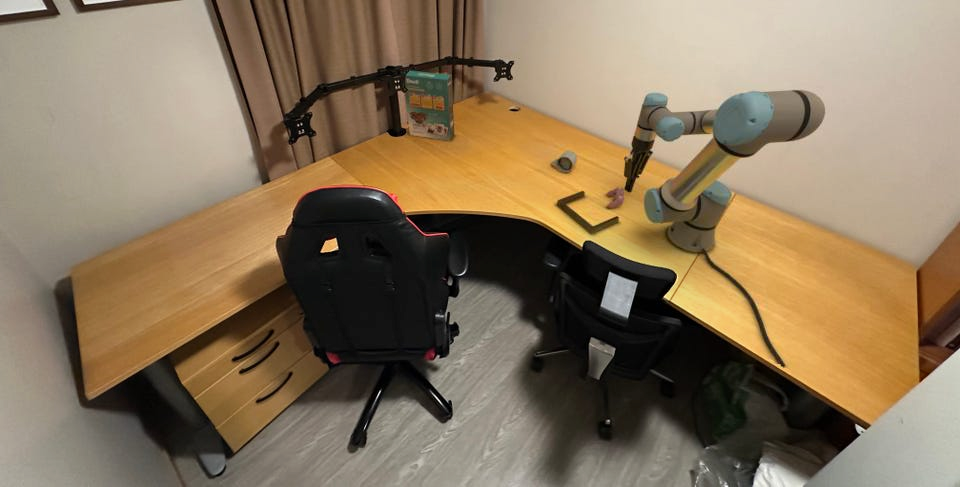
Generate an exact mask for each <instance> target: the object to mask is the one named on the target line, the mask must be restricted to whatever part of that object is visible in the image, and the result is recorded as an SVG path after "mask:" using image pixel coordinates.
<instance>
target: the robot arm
mask: <svg viewBox="0 0 960 487" xmlns="http://www.w3.org/2000/svg"><path fill="white" fill-rule="evenodd" d="M668 101H669V97H668V96H667V95H666V94H664V93H661V92H649V93H646V95H645V97H644V99H643V102H642V104H641V108H640V112H639V115H638V120H637V123H636V127H635V131H634V135H633V136H632V139H631V144H630V145H631V151H630V152H629V155H628V156H624V158H623V159H624V169H623V177H625V178H626V180H625V184H624V188H623V190H624V191H625V192H627V193H632V192H633V188H634V185H635V183H636V180H637V179H639V178H640V175H642V174H643V172H644V170H645V168H646V166H647V164H648V162H649V160H650V158H651V156H652V155H653V154H654V152H653V151H652V149H653V147H654V144H655V141H656V138H657V137H659V138H660V139H662V140H663V141H664V142H668V143H672V142H675V141H676V140H678V139H680V138H681V137H682V136H694V135H695V136H697V135H712V138H711V139H710V140H709V142H708V143H707V144H705V145H704V147H703V148H702V149H701V150H700V151H699V152H698V153H697V154H696V155H695V156H694V157H693V158H692V160H690V162H688V164H687V165H685V167H684V168H683V169H682V170H681V171H680V172H679V174H677V176H676V177H670V178H669V179H667V180H666V181H664V182H663V183H662V184H661V185H660V186H659V187H656V188H655V187H652V188H649V189H647V190H646V192H645V194H644V197H643V208H644V213H645V215H646V218H647V219H648V220H649V221H650V222H651V223H653V224H666V223H671V225H670V226H669V228H668V230H667V237H668V239H669V241H670V242H671V243H672V244H673V245H674V246H676V247H677V248H678V249H682V250H683V251H686V252H690V253H697V254H698V253H703V255H704V257H705V259H706V260H707V262H708V264H710V266H712V268H714V269H715V270H716V271H718V272H719V273H721V274H722V275H724V276H725V277H727V278H728V279H729V280H730V281H731V282H732V283H733V284H734V285H735V286H737V287H738V288H739V290H741V292H743V295H745V296H746V298H747V299H748V302H750V305H751V307H752V309H753V311H754V313H755V316H756V318H757V321H758V324H759V327H760V330H761V333H762V336H763V338H764V341H765V342H766V345H767V346H768V348H769V350H770V352H771V353H772V354H773V356H774V358H775V359H776V360H777V362H778V364H779V365H780V367H782V368H784V367H787V366H786V364H785V361H783V359H782V357H781V356H780V355H779V353H778V352H777V350H776V349H775V347H774V346H773V344H772V342H771V340H770V338H769V336H768V333H767V330H766V327H765V324H764V321H763V318H762V317H761V314H760V312H759V309H758V306H757V304H756V302H755V301H754V298H753V297H752V296H751V295H750V294H749V292H748V291H747V290H746V288H745V287H744V286H743V285H742V284H740V282H738V281H737V279H735V278H734V277H732V275H730V273H728V272H727V271H725V270H724V269H722V268H720V267H719V266H718V265H716V264H715V262H713V260H712V259H711V257H710V255H709V254H708V253H707V252H709V251H710V250H711V249H712V247H713V246H714V243H715V238H716V228H717V226H718V224H719V223H720V220H721V218H722V217H723V215H724V213H725V211H726V210H727V208H728V206H729V205H730V201H731V199H732V191H731V189H730V188H729V186H727V185H726V184H724V183H723V182H721V181H718V179H719V178H720V177H721V176H723V175H724V174H725V173H726V172H727V171H729V169H730V168H732V167H733V166H734V165H735V164H736V163H737V162H739V160H740V159H748V158H750V157H753V156H754V155H756V154H757V153H758V152H759V151H761V149H763V148H764V147H765V146H767V145H768V144H772V143H773V144H774V143H787V142H796V141H800V140H803V139H805V138H806V137H808V136H810V135H812V134H813V133H814V132H815V131H817V130H818V129H819V128H820V127H821V125H822V123H823V121H824V119H825V116H826V107H825V103H824V101H823V100H822V99H821V97H819V96H818V95H817V94H816V93H814V92H812V91H808V90H803V89H791V90H773V91H772V90H771V91H770V90H769V91H757V90H752V91H746V92H741V93H737V94H736V93H735V94H734V95H732V96H730V97H728V98H727V99H726V100H724V101H723V102H722V103H721V105H720V106H719V107H718V109H716V108H715V109H706V110H693V111H692V110H691V111H671V110H670V109H669V108H668V107H667V106H668Z"/></svg>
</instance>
